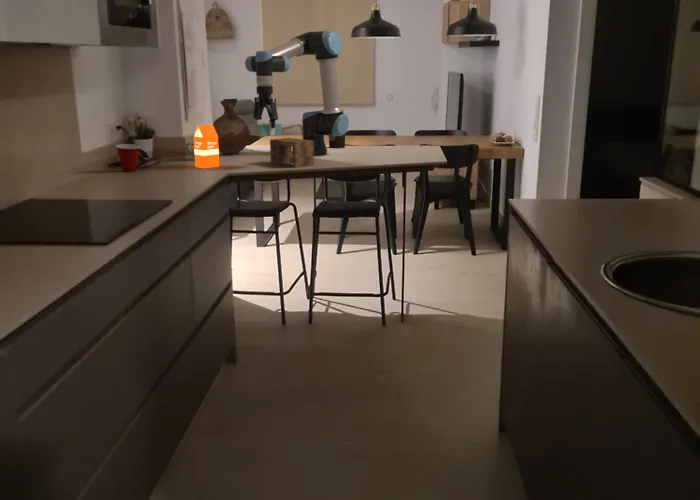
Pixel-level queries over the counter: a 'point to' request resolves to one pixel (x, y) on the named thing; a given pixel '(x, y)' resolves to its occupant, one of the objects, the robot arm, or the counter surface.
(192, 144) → the mug
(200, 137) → the orange juice
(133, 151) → the plastic cup
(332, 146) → the olive oil
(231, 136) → the jug
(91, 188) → the counter surface
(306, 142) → the shelf
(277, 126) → the teal rectangular block
